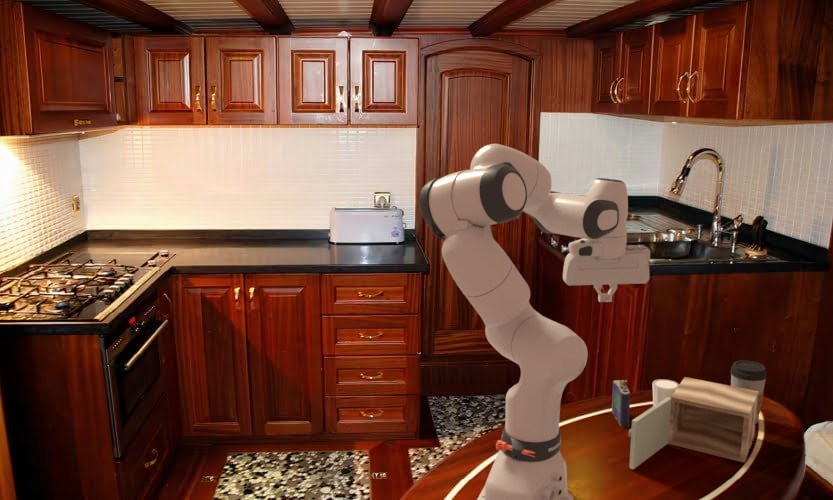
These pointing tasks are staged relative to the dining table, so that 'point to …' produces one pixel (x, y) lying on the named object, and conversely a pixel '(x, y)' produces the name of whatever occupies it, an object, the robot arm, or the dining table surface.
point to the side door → (649, 432)
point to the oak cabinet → (713, 418)
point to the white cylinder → (663, 389)
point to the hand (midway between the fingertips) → (604, 301)
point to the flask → (621, 402)
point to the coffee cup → (749, 378)
